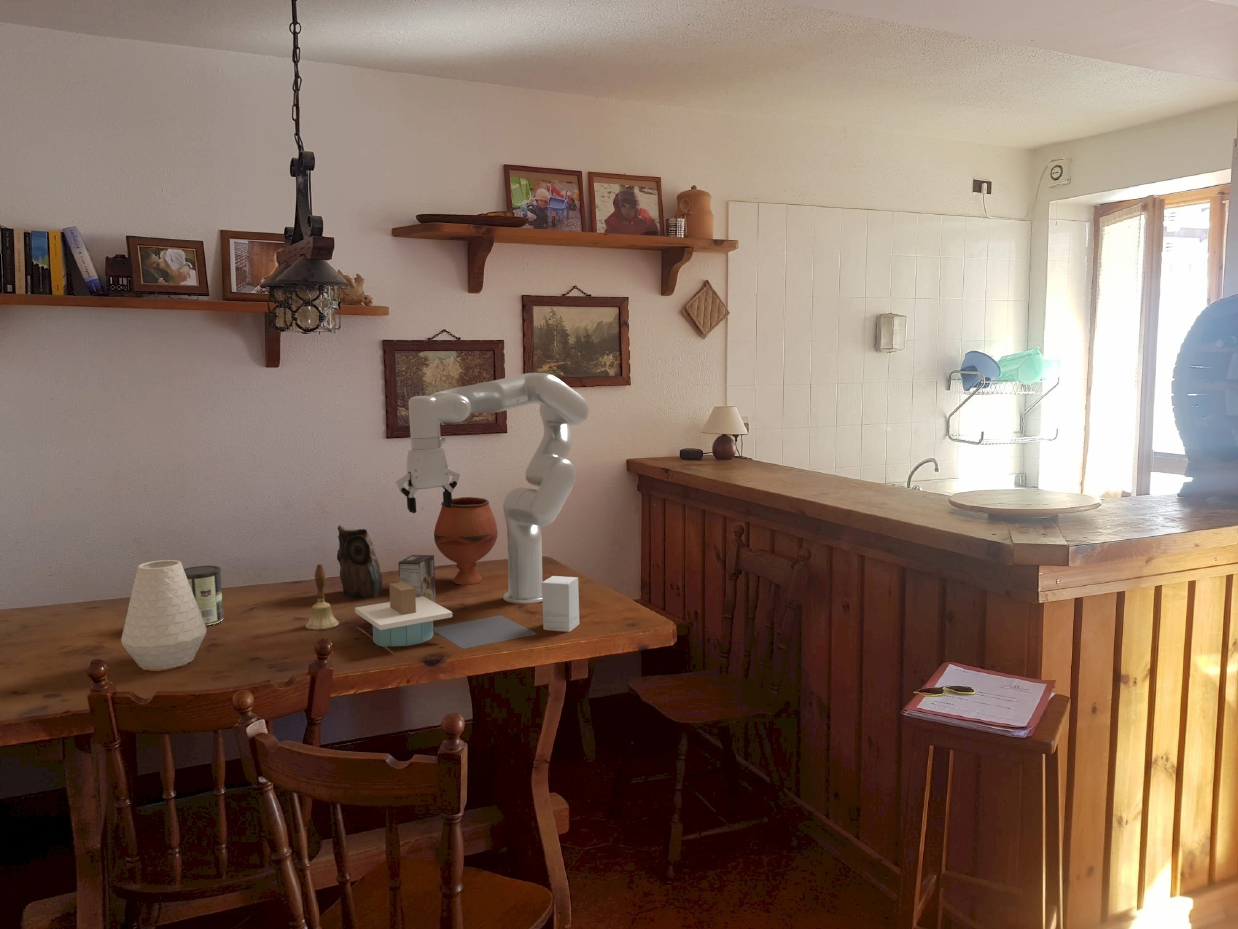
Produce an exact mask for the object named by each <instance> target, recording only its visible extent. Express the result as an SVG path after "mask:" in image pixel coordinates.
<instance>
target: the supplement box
mask: <svg viewBox="0 0 1238 929" xmlns="http://www.w3.org/2000/svg"><path fill="white" fill-rule="evenodd" d="M543 581H544V582H542V602H541V603H542V622H543V623H542V624H543V628H542V629H543V631H544V630H546V631H555V632H565V633H566V632H568V633H569V632H571V631H572V630H574V629H575V628H577V627H578V626H579V625H580V600H579V594H580V590H579V577H575V576H560V575H559V576H558V575H551V576H550V577H549V578H547V579H545V580H543Z"/></svg>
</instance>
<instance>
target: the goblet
mask: <svg viewBox="0 0 1238 929" xmlns="http://www.w3.org/2000/svg"><path fill="white" fill-rule="evenodd" d="M440 505H441V508H440V512H439V514H438V516H437V519H436V523H435V527H434V531H433V538H434V543H435V546H436V547H437V550H438V551H439V552H440V553H441V554H442V555H443V556H444V557H445V558H447V560H449V561H452V562H453V563H456V566H455V567H456V568H458V570H459V571H458V573H457V574H456V575H455V577H454V578H453V580H452V582H453V583H454V584H457V585H460V584H461V585H462V586H465V585H467V586H469V584H471V585H475V584H478V583H479V584H480V583H481V582H482V581H483V579H482V576H481V575H480V573H478V572H477V571H476V569H475V567H476V566H477V563H476V562H478V561H479V560H481V559H483V558H484V557H485V556H486V555H488V553H490V552H491V550H492V549H493V548H494V546H495V544H496V543H497V538H498V534H499V533H498V525H497V521H496V518H495V515H494V513H493V510H492V508H491V506H490V502H489V500H488V499H486V498H483V497H481V498H480V497H474V496H473V497H471V496H467V497H466V496H464V497H463V496H462V497H455V498H452V504H451V508H447V507H445V506H444V503H443V501H442V502H441V504H440Z"/></svg>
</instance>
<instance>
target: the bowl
mask: <svg viewBox="0 0 1238 929" xmlns="http://www.w3.org/2000/svg"><path fill="white" fill-rule="evenodd" d="M433 628H434V621H428V622H423V623H417V624H411V625H406V626H400V627H395V628H389V629H384V630H380V629H378V628H377V627H375V626H374V625H372V642H373V643H375V644H376V645H377V646H379V647H383V648H387V647H408V646H413V645H419V644H423V643H425V642H427V641H429V640H431V639H432V638H433V636H434V631H433Z"/></svg>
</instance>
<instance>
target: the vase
mask: <svg viewBox="0 0 1238 929" xmlns="http://www.w3.org/2000/svg"><path fill="white" fill-rule="evenodd" d="M184 569H185V568H184V567H183V564H182V561H180V560H176V559H164V560H163V559H162V560H153V561H148V562H147V561H146V562H144V563H141V564H139V565H137V568H136V574H135V578H134V581H133V582H134V583H133V587H132V590H131V595H130V599H129V603H128V608H127V612H126V616H125V617H126V618H125V621H124V626H123V631H122V634H121V639H120V641H121V644H122V646H123V647H124V649H125V650H126V651H127V653H128V654H129V655H130V656H131V658H132V659H133V660H134V662H135V664H136V665H137V666H138V667H139V668H140V667H142V668H145V669H167V668H171V667H176V666H181V665H183V664H186V663H188V662H191V661H192V660H193V661H194V659H195V656H196V655H197V653H198V650H199V648H200V647H201V644H202V643H203V641H204V638H205V637H206V635H207V631H208V629H207V627H206V626H205V623H204V621H203V618H202V616H201V613H200V610H199V608H198V605H197V603H196V600H195V597H194V595H193V592H192V590H191V587H190V584H189V582H188V579H187V577H186V574H185V571H184ZM193 661H192V662H193ZM192 662H191V663H192Z"/></svg>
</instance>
